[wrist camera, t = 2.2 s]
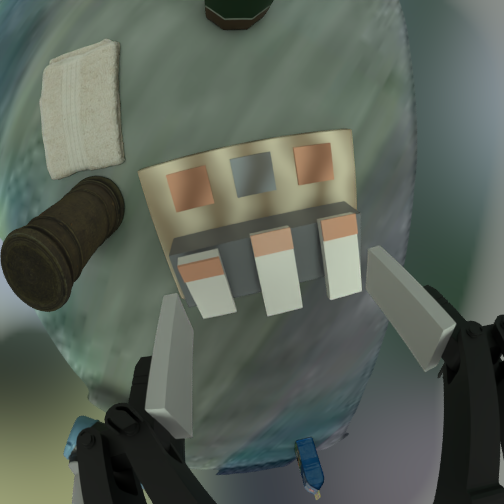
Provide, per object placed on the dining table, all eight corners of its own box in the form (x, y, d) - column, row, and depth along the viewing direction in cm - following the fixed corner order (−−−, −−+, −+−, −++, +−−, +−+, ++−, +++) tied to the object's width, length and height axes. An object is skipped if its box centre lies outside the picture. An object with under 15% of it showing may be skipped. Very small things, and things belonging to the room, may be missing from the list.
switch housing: (190, 286, 39) (188, 307, 35) (173, 238, 35) (168, 256, 31) (345, 250, 40) (360, 266, 36) (344, 201, 36) (361, 213, 32)
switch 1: (202, 305, 36) (203, 320, 34) (178, 251, 29) (177, 267, 27) (234, 298, 36) (237, 313, 34) (217, 242, 29) (219, 258, 27)
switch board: (182, 293, 42) (181, 300, 40) (140, 169, 32) (136, 172, 30) (352, 253, 42) (357, 259, 41) (346, 128, 33) (352, 129, 31)
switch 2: (324, 293, 34) (331, 301, 32) (314, 218, 32) (321, 220, 29) (354, 284, 35) (362, 291, 32) (346, 211, 32) (355, 213, 30)
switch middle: (265, 308, 34) (267, 317, 32) (248, 232, 32) (250, 236, 29) (298, 300, 34) (303, 308, 32) (285, 224, 32) (290, 227, 29)
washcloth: (122, 38, 23) (115, 32, 20) (129, 162, 32) (122, 166, 29) (49, 64, 22) (38, 62, 19) (58, 178, 30) (48, 183, 28)
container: (119, 170, 31) (49, 220, 16) (130, 232, 36) (84, 315, 20) (65, 181, 30) (-15, 235, 15) (79, 238, 35) (19, 315, 19)
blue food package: (312, 436, 78) (329, 494, 56) (309, 446, 84) (324, 498, 62) (295, 440, 78) (311, 499, 56) (294, 450, 83) (307, 502, 62)
